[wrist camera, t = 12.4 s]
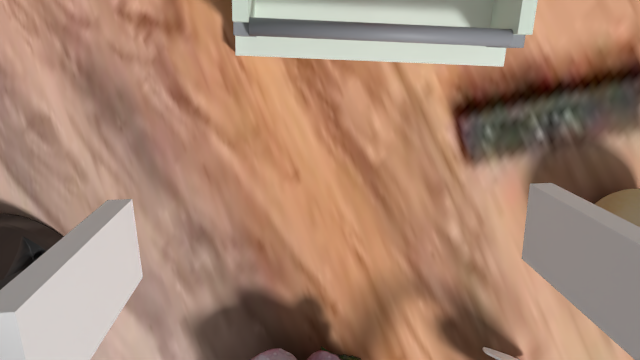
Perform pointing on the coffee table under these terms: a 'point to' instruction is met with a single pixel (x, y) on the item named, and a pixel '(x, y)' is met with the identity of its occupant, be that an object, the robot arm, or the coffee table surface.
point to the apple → (623, 205)
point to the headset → (498, 354)
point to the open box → (384, 29)
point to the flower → (284, 359)
